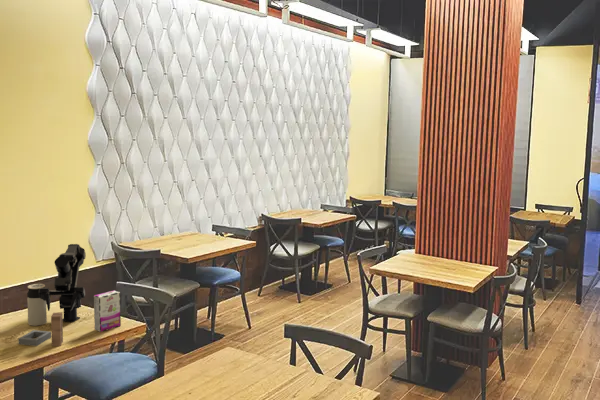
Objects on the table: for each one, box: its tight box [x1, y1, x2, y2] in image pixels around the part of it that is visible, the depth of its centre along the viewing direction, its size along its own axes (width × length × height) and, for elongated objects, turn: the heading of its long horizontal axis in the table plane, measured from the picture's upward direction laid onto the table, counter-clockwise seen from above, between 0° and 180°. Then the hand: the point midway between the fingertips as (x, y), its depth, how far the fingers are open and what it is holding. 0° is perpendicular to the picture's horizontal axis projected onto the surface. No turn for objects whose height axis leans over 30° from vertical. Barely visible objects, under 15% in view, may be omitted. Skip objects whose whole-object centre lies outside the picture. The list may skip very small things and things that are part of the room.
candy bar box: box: [93, 290, 122, 333], centre depth 267 cm, size 11×5×16 cm, turn 143°
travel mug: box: [26, 283, 48, 327], centre depth 270 cm, size 8×8×18 cm
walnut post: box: [50, 312, 64, 347], centre depth 246 cm, size 5×4×13 cm
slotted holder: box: [17, 329, 52, 347], centre depth 250 cm, size 10×8×2 cm
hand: (59, 310), depth 252 cm, fingers open, 9 cm apart
